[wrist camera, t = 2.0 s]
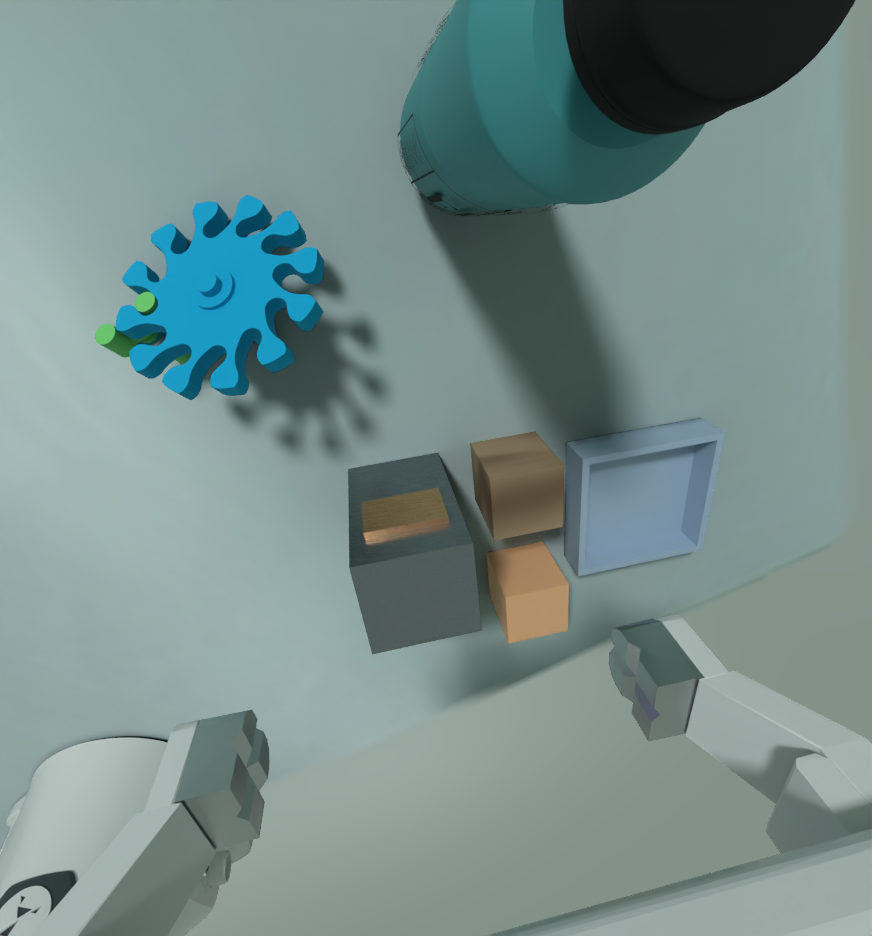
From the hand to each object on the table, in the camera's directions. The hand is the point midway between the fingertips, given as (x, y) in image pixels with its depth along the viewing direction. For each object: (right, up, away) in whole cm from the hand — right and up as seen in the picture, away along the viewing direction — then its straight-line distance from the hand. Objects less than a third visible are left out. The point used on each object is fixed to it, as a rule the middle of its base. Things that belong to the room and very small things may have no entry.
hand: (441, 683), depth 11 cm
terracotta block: (+6, -3, +27) cm, 28 cm away
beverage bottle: (+1, +21, +13) cm, 25 cm away
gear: (-11, +14, +15) cm, 23 cm away
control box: (-3, +3, +22) cm, 22 cm away
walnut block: (+5, +5, +22) cm, 23 cm away
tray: (+14, +3, +25) cm, 29 cm away
